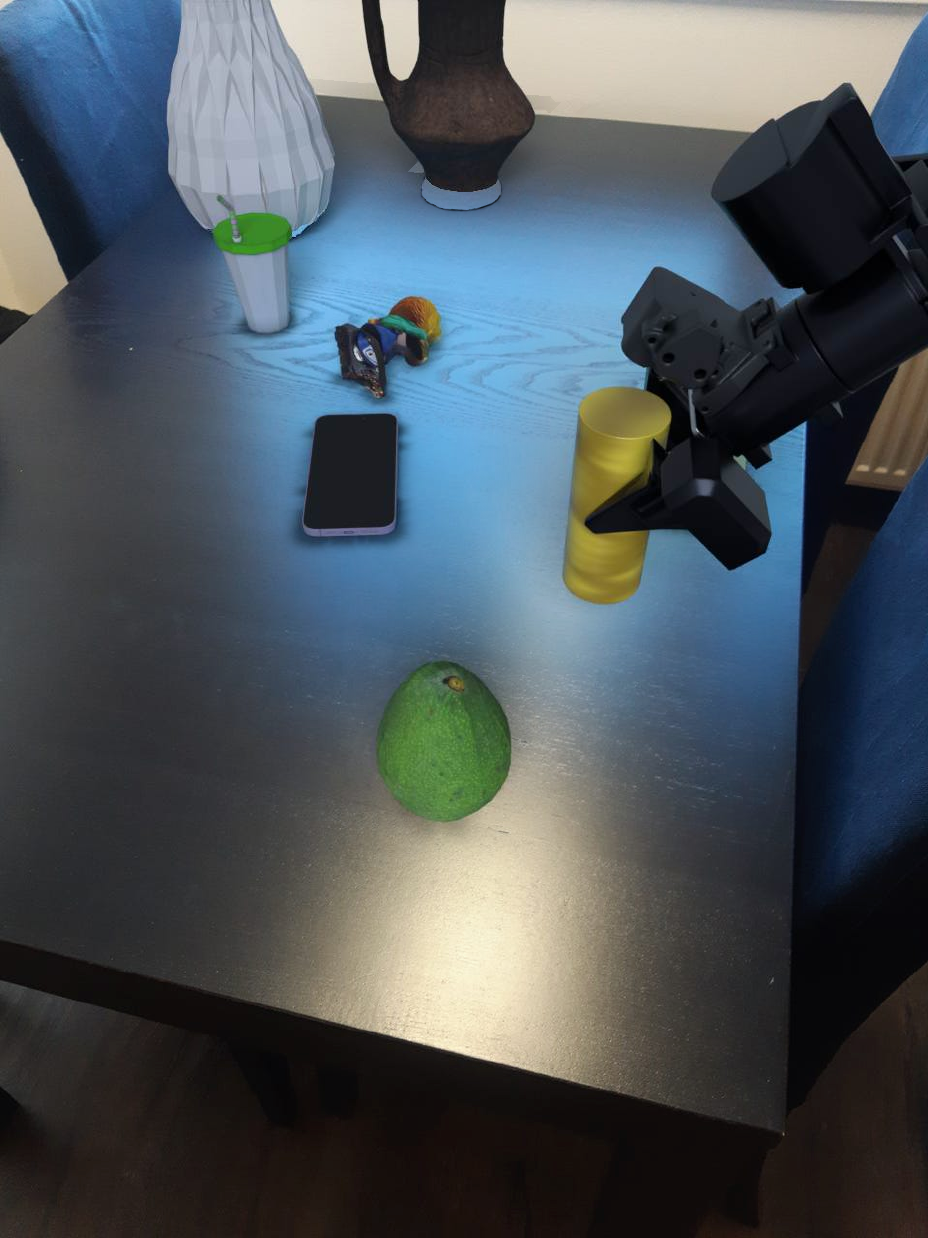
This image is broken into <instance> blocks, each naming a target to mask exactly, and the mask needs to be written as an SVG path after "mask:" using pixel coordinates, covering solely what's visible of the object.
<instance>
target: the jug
mask: <svg viewBox="0 0 928 1238" xmlns="http://www.w3.org/2000/svg"><path fill="white" fill-rule="evenodd" d="M506 3H507V0H417V26H418V28H417V29H418V51H417V57H416V61H415V64H414V66H413V68H412V70H411V72H410V74H409V76H408V77H407V78H405V79H402V80H400V79H398V78H397V77H396V76H395V75H394V74H393V73H392V71H391V69H390V64H389V60H388V59H389V58H388V53H387V44H386V36H385V27H384V22H383V19H382V13H381V12H382V10H381V0H361V7H362V17H363V25H364V33H365V39H366V46H367V52H368V56H369V60H370V64H371V69H372V74H373V77H374V79H375V83H376V85H377V89H378V90H379V94H380V97H381V98H382V101H383V102H384V105H385V107H386V109H387V111H388V116H389V122H390V124H391V127H392V129H393V131H394V132H395V134H396V135H397V136H398V137H399V139H400V140H401V141H402V143H404V144H405V146H406V147H407V149H409V150H410V152H411V153H412V154H413V156H415V158H416V159H417V161H418V162H419V164H420V165H421V166H422V169H423V171H424V174H425V176H424V178H425V177H426V179H427V180H428V181H429V182H430V183H431V184H432V185H434V186H436V187H438V188H440V189H444V190H450V191H457V192H473V191H478V190H483V189H487V188H489V187H491V186H493V185H494V184H496V182H497V180H498V178H499V172H500V170H501V168H502V167H503V165H504V163H505V162H506V161H507V159H508V157H509V156H510V155H511V153H512V152H513V151H514V150H515V149H516V147H517V146H518V144H520V142H521V141H522V140H524V138H525V137H526V136H528V135H529V133H530V132H531V130H533V127H534V124H535V121H536V112H535V110H534V108H533V105H532V103H531V101H530V100H529V98H528V97H527V95H526V94H525V92H524V91H523V89H522V88H521V87H520V85H519V84H518V83H517V82H516V80H515V78H514V77H513V75H512V74H511V72H510V70H509V68H508V67H507V65H506V62H505V59H504V29H505V27H504V26H505V10H506Z"/></svg>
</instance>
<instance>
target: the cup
mask: <svg viewBox="0 0 928 1238" xmlns="http://www.w3.org/2000/svg"><path fill="white" fill-rule="evenodd" d="M217 201H218V202H219V203H221V204H222V205H223V206H224V207H225V208H227V209H228V211H229V214H230V218H228V219H226V220H223V221H221V222H219V223H218V224H217V226H216V227H215V228H214V230H213V231H212V232H211V233H212V237H213V241H214V243H215V245H216V246H217V248H218V249H219V250H221V252H222V255H223V258H224V262H225V263H226V267H227V269H228V273H229V275H230V278H231V282H232V284H233V287H234V289H235V293H236V295H237V298H238V301H239V303H240V307H241V310H242V313H243V315H245V316H244V318H245V317H246V318H245V322H246V324H247V326H248V329H249V330H250V331H252V332H254V333H257V334H263V335H264V334H266V335H270V334H274V333H279V332H282V331H283V330H285V329H286V328H288V327H289V325H290V323H291V287H290V284H291V283H290V241H291V240H290V238H291V237H292V229H291V225H290V224H289V222H288V221H287V219H286V218H284V217H281V216H278V215H275V214H272V213H247V214H241V215H235V210H234V208H233V206H232V205H231V204H230V203H228V202H227V201H226V200H225V199H224V198H223V197H222V196H220V195H218V196H217ZM289 240H290V241H289ZM289 312H290V314H289ZM288 315H289V316H288ZM287 317H288V318H287ZM247 321H248V322H247ZM258 325H259V326H258Z"/></svg>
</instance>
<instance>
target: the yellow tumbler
mask: <svg viewBox="0 0 928 1238" xmlns="http://www.w3.org/2000/svg"><path fill="white" fill-rule="evenodd" d="M671 417H672V416H671V411H670V408H669V407H668V405H667V404H666V403H665V402H664V401H663V400H662V399H661V398H660V397H658V396H656V395H655V394H653V393H650V392H648V391H645V390H643V389H641V388H639V387H638V388H637V387H633V386H621V385H620V386H608V387H604V388H599V389H596V390H593V391H591V392H590V393H589V394H587V395H586V396H584V397H583V398H582V400H581V401H580V403H579V406H578V411H577V420H576V431H575V440H574V451H573V460H572V471H571V482H570V491H569V499H568V511H567V520H566V521H567V522H566V531H565V541H564V552H563V562H562V573H561V577H562V580H563V581H562V582H563V584H564V586H565V587H566V589H567V590H568V591H569V592H570V593H571V594H572V595H573V596H575V597H577V598H578V599H580V600H581V601H585V602H587V603H592V604H594V605H595V604H596V605H614V604H619V603H621V602H624V601H626V600H628V599H630V598H632V596H633V595H635V593H636V592H637V591H638V590H639V588H640V585H641V581H642V576H643V570H644V566H645V565H644V564H645V560H646V554H647V549H648V543H649V538H650V532H651V530H646V531H632V532H618V533H605V534H594V533H592V532H591V531H590V530H589V529H588V528H587V527H586V526H585V525H584V521H585V519H586V518H587V517H588V516H589V515H590V514H591V513H592V512H593V511H594V510H595V509H596V508H598V507H599V506H600V505H601V504H602V503H604V502H605V501H606V500H607V499H609V498H610V497H611V496H612V495H614V494H615V493H616V492H617V491H619V490H620V489H621V488H622V487H624V486H625V485H626V484H628V483H629V482H630V481H631V480H633V479H634V478H635V477H636V476H638V475H639V474H640V473H641V472H643V471H644V470H645V468H646V465H647V460H648V455H649V449H650V444H651V441H652V439H653V438H654V439H655V440H656V441H657V442H658V443H659V444H660V445H661V446H662V447H663V448H664V449H665V450H666V444H667V439H668V434H669V428H670V423H671Z"/></svg>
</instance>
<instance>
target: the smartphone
mask: <svg viewBox="0 0 928 1238" xmlns="http://www.w3.org/2000/svg"><path fill="white" fill-rule="evenodd" d="M313 424H314V425H313V431H312V440H311V447H310V456H309V462H308V471H307V480H306V486H305V487H306V488H305V494H304V501H303V502H304V503H303V511H302V516H301V517H302V518H301V523H302V530H303V532H304V533H305V534H306V535H308V536H311V537H352V536H382V535H388V534H390V533H392V532H393V531H394V530H395V529H396V527H397V515H398V513H397V512H398V511H397V509H398V469H399V467H398V463H399V461H398V460H399V419H398V417H397V416H396V415H395V414H393V413H389V412H378V413H376V412H374V413H338V414H337V413H336V414H335V413H334V414H324V415H320V416H319V417H317V418H316V419H315V421H314V423H313Z"/></svg>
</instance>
